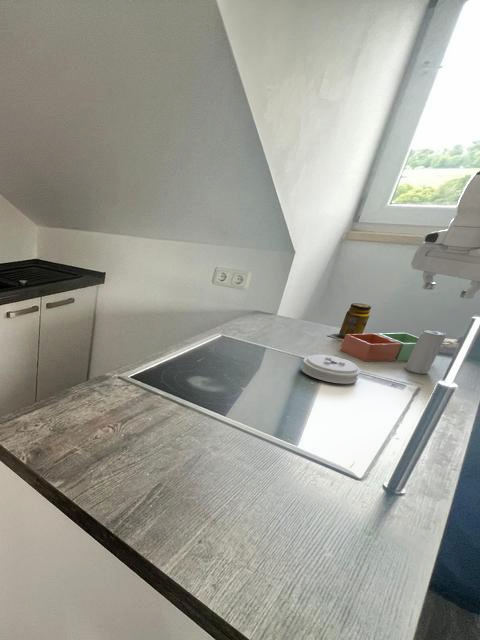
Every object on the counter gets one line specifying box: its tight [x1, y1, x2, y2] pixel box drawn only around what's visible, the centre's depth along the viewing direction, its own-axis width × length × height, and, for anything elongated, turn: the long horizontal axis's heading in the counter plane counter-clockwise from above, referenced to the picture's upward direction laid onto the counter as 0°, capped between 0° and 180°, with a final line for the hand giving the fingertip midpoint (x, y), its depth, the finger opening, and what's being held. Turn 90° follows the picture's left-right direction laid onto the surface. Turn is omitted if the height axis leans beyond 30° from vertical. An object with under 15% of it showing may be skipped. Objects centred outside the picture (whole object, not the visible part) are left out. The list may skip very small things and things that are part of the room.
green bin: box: [376, 332, 419, 362], centre depth 122 cm, size 9×9×6 cm
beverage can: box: [405, 328, 447, 375], centre depth 110 cm, size 5×5×12 cm
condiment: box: [328, 302, 372, 342], centre depth 134 cm, size 7×8×12 cm
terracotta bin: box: [339, 332, 401, 362], centre depth 122 cm, size 9×9×6 cm
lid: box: [300, 354, 362, 384], centre depth 109 cm, size 13×13×5 cm
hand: (445, 293), depth 101 cm, fingers open, 8 cm apart
